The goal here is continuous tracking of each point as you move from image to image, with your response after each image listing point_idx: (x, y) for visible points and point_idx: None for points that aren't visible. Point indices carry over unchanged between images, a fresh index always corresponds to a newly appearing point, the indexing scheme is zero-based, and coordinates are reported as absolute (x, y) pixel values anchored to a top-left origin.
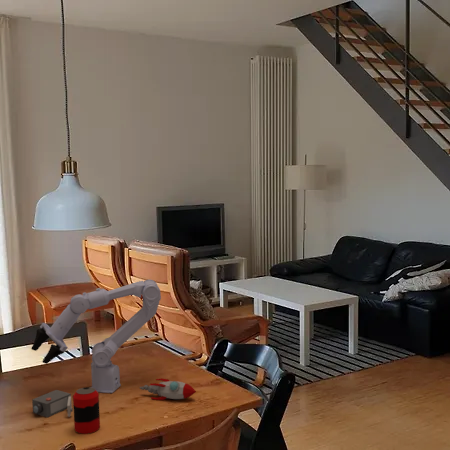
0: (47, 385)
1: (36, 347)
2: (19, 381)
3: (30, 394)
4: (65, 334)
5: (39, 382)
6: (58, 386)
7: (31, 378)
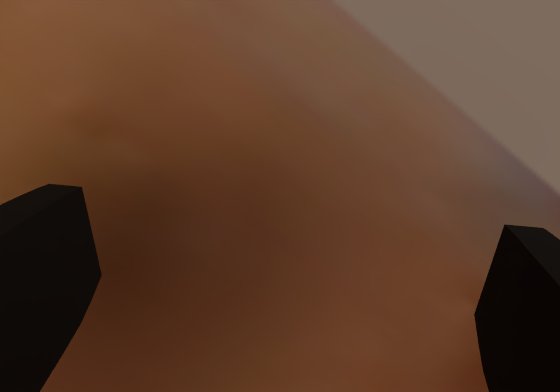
0: (293, 338)
1: (505, 333)
2: None
3: (243, 152)
4: None
5: (384, 330)
6: (207, 384)
7: None
